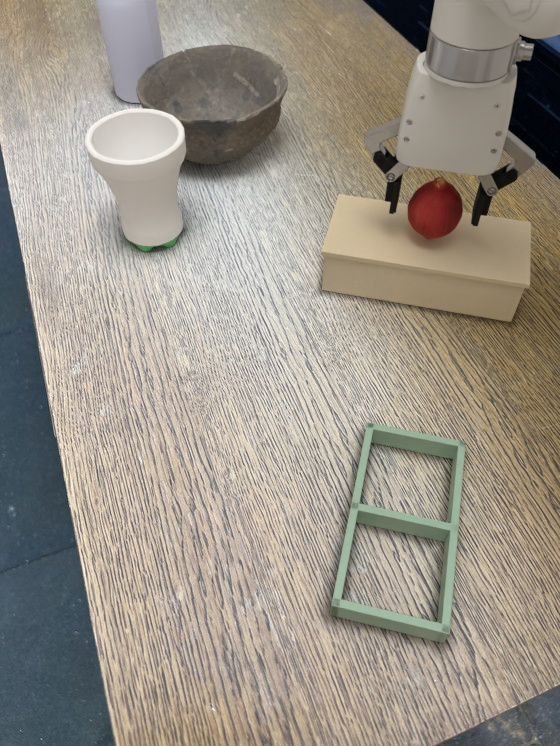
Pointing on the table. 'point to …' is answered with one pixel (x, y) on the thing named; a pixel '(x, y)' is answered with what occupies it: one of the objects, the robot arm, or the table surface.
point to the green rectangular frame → (409, 526)
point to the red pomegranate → (435, 209)
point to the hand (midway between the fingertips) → (434, 211)
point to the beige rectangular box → (426, 260)
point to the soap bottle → (130, 41)
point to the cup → (141, 171)
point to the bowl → (217, 98)
